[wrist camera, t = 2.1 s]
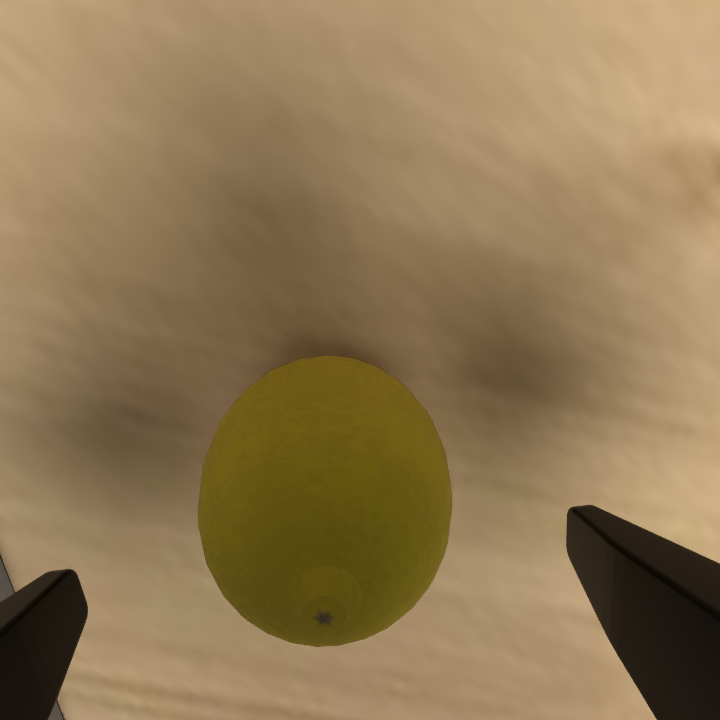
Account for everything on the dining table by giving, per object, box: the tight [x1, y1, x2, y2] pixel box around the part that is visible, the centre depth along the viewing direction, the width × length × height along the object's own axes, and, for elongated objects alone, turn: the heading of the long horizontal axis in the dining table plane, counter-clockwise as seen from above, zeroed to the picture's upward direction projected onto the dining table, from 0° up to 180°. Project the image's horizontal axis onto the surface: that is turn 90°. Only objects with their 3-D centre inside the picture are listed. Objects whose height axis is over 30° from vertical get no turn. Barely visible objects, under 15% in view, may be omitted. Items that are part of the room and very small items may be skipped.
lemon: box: [198, 355, 452, 647], centre depth 11 cm, size 6×6×8 cm
